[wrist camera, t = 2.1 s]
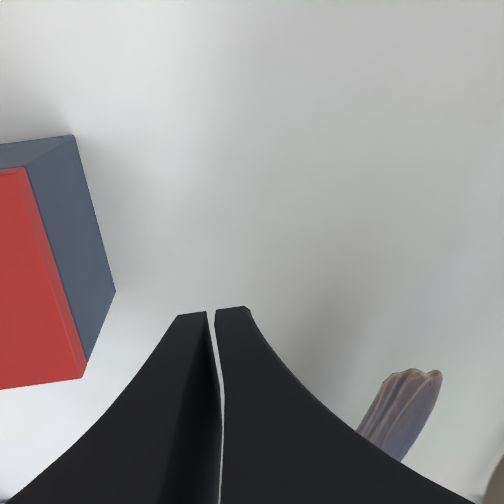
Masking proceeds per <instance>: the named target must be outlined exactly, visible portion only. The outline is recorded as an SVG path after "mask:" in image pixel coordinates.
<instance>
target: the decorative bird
mask: <svg viewBox="0 0 504 504" xmlns="http://www.w3.org/2000/svg"><path fill="white" fill-rule="evenodd" d="M441 383H442V373H441V372H440V371H438V370H434V371H431V372H429V373H427V374H425V373H424V372H422V371H420V370H418V369H408V370H406V371H403V372H401V373H392V374H391V375H390V376H389V377H388V378H387V379H386V380H385V381H384V382H383V383H382V386H381V388H380V390H379V392H378V394H377V396H376V398H375V400H374V402H373V403H372V405H371V406H370V408H369V410H368V411H367V413H366V415H365V416H364V418H363V420H362V422H361V423H360V425H359V427H358V428H357V430H356V432H357V433H359V434H360V435H362V436H363V437H364V438H366V439H367V440H369V441H370V442H371V443H373V444H374V445H376V446H377V447H378V448H380V449H381V450H383V451H384V452H385V453H387V454H388V455H390V456H391V457H392V458H394V459H396V460H397V461H399V462H401V460H402V459H403V458H404V456H405V455H406V453H407V452H408V450H409V449H410V448H411V446H412V445H413V443H414V442H415V440H416V439H417V437H418V435H419V434H420V432H421V430H422V429H423V427H424V425H425V423H426V421H427V420H428V418H429V416H430V414H431V412H432V410H433V408H434V406H435V403H436V401H437V397H438V394H439V391H440V388H441Z"/></svg>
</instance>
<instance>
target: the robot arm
mask: <svg viewBox="0 0 504 504" xmlns="http://www.w3.org/2000/svg"><path fill="white" fill-rule="evenodd" d="M214 327H215V333H216V339H217V345H218V351H219V357H220V363H221V370H222V376H223V382H224V394H225V406H224V445H223V469H222V485H221V500H220V504H475V503H473V502H471V501H469V500H467V499H465V498H463V497H462V496H460V495H458V494H456V493H454V492H452V491H450V490H448V489H446V488H444V487H442V486H440V485H438V484H437V483H435V482H433V481H431V480H429V479H427V478H425V477H424V476H422V475H420V474H418V473H417V472H415V471H413V470H412V469H410V468H409V467H407V466H405V465H404V464H402V463H400V462H399V461H397V460H396V459H394V458H392V457H391V456H390V455H388V454H387V453H385V452H384V451H383V450H381V449H380V448H378V447H377V446H376V445H374V444H373V443H371V442H370V441H369V440H367V439H366V438H364V437H363V436H362V435H360V434H359V433H357V432H356V431H354V430H353V429H352V428H351V427H349V426H348V425H347V424H346V423H344V422H343V421H342V420H341V419H340V418H338V417H337V416H336V415H335V414H334V413H332V412H331V411H330V410H329V409H328V408H327V407H326V406H324V405H323V404H322V403H321V402H320V401H319V400H318V399H317V398H316V397H315V396H314V395H313V394H312V393H311V392H310V391H308V389H307V388H306V387H305V386H304V385H303V384H302V383H301V382H300V381H299V380H298V379H297V378H296V377H295V376H294V375H293V373H292V372H291V371H290V370H289V369H288V368H287V367H286V365H285V364H284V363H283V362H282V361H281V359H280V358H279V357H278V356H277V354H276V353H275V352H274V350H273V349H272V348H271V346H270V345H269V344H268V342H267V341H266V339H265V338H264V337H263V335H262V333H261V332H260V330H259V329H258V327H257V325H256V323H255V321H254V319H253V317H252V315H251V312H250V310H249V309H248V308H247V307H245V306H239V307H232V308H225V309H218V310H216V313H215V321H214ZM221 444H222V415H221V398H220V385H219V380H218V374H217V368H216V363H215V357H214V352H213V346H212V341H211V335H210V330H209V324H208V319H207V313H206V311H203V312H196V313H189V314H182V315H178V316H177V317H176V318H175V319H174V321H173V322H172V324H171V325H170V327H169V328H168V330H167V331H166V333H165V334H164V336H163V337H162V339H161V340H160V342H159V343H158V345H157V346H156V348H155V349H154V351H153V352H152V354H151V355H150V356H149V358H148V359H147V360H146V362H145V363H144V365H143V366H142V367H141V369H140V370H139V371H138V373H137V374H136V375H135V377H134V378H133V379H132V381H131V382H130V383H129V384H128V385H127V387H126V388H125V389H124V390H123V392H122V393H121V394H120V395H119V396H118V398H117V399H116V400H115V401H114V403H113V404H112V405H111V406H110V407H109V408H108V410H107V411H106V412H105V413H104V414H103V415H102V416H101V417H100V418H99V419H98V421H97V422H96V423H95V424H94V425H93V426H92V427H91V428H90V429H89V430H88V431H87V432H86V433H85V434H84V435H83V436H82V437H81V438H80V439H79V440H78V441H77V442H76V443H75V444H73V445H72V446H71V447H70V448H69V449H68V450H67V451H66V452H65V453H64V454H62V455H61V456H60V457H59V458H58V459H57V460H56V461H54V462H53V463H52V464H51V465H50V466H49V467H48V468H46V469H45V470H44V471H43V472H42V473H41V474H39V475H38V476H37V477H36V478H35V479H34V480H33V481H31V482H30V483H29V484H28V485H27V486H26V487H24V488H23V489H22V490H21V491H20V492H18V493H17V494H16V495H15V496H13V497H12V498H11V499H9V500H8V501H7V502H6V503H2V504H218V495H219V479H220V462H221Z"/></svg>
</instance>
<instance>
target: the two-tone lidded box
mask: <svg viewBox="0 0 504 504" xmlns="http://www.w3.org/2000/svg"><path fill="white" fill-rule="evenodd" d="M115 292H116V291H115V287H114V283H113V280H112V276H111V272H110V268H109V265H108V261H107V257H106V253H105V250H104V246H103V242H102V238H101V235H100V231H99V227H98V223H97V220H96V216H95V212H94V208H93V205H92V201H91V197H90V193H89V190H88V186H87V182H86V179H85V175H84V171H83V167H82V164H81V160H80V156H79V152H78V149H77V145H76V141H75V137H74V136H73V135H67V136H60V137H52V138H44V139H37V140H29V141H21V142H14V143H6V144H0V390H2V389H9V388H16V387H23V386H31V385H38V384H45V383H52V382H59V381H66V380H73V379H80V378H82V376H83V374H84V371H85V369H86V366H87V362H88V360H89V358H90V355H91V353H92V350H93V348H94V345H95V343H96V340H97V338H98V335H99V333H100V330H101V328H102V325H103V323H104V320H105V318H106V315H107V313H108V310H109V308H110V305H111V303H112V300H113V298H114V295H115Z"/></svg>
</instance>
